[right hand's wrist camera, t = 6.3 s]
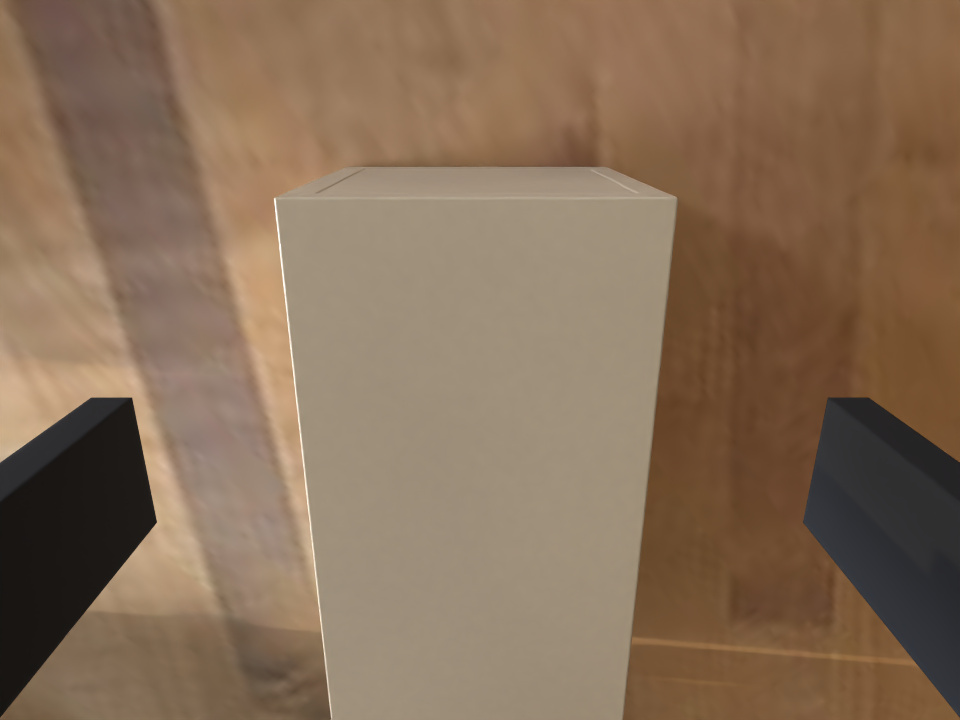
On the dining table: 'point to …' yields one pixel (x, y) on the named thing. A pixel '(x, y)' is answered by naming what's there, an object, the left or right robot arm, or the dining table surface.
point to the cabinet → (476, 430)
